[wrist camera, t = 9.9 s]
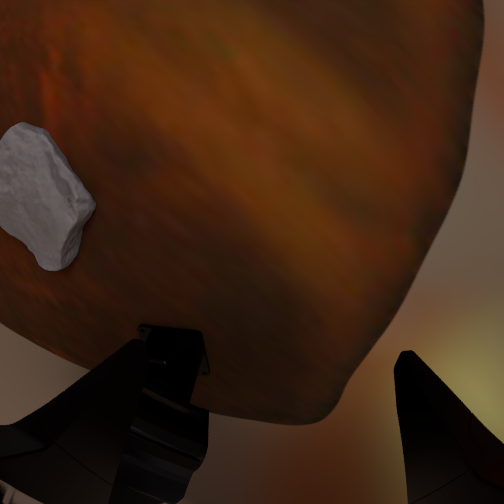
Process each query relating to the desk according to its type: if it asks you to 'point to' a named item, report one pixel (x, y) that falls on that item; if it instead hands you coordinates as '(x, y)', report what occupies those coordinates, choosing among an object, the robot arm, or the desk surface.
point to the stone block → (41, 196)
